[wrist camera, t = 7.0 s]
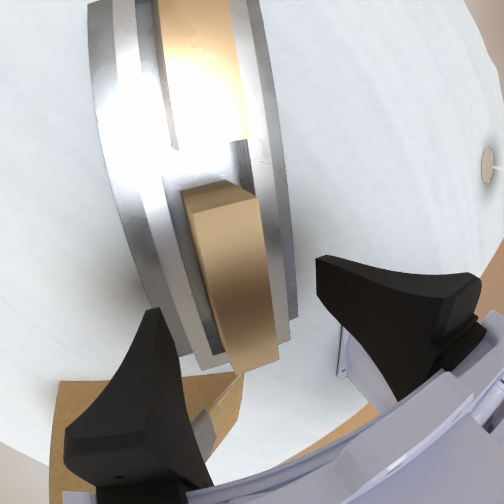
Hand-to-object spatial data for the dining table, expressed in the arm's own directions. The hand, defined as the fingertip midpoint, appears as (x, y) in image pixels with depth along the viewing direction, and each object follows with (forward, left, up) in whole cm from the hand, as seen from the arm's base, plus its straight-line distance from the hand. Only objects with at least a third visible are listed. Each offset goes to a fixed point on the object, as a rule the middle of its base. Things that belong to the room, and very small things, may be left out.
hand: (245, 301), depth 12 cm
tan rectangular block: (0, 0, -4) cm, 4 cm away
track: (+5, 0, -5) cm, 7 cm away
